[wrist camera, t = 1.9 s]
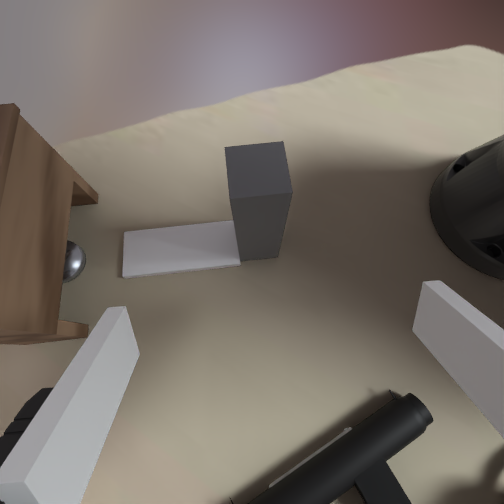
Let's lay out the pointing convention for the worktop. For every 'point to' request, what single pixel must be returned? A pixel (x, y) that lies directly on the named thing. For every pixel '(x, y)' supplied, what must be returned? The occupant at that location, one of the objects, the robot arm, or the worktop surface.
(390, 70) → the worktop surface
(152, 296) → the worktop surface
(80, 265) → the dark grey round piece
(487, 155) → the robot arm
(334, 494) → the door handle
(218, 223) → the grey block with plate
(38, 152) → the walnut stool
